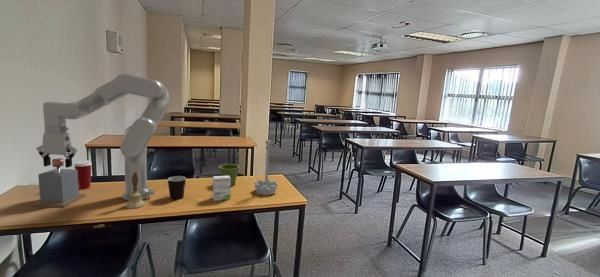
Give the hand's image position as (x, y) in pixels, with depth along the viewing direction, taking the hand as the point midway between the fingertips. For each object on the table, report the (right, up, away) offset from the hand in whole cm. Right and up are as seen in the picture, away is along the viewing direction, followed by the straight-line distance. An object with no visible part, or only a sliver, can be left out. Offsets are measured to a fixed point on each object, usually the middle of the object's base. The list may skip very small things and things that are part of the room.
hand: (58, 166), depth 137 cm
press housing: (-1, -16, +3) cm, 17 cm away
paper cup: (-3, -14, +21) cm, 25 cm away
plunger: (-1, -15, +2) cm, 15 cm away
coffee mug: (+49, -17, +17) cm, 54 cm away
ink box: (+70, -19, +18) cm, 75 cm away
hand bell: (+34, -19, +3) cm, 39 cm away
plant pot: (+69, -15, +41) cm, 81 cm away
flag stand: (+92, -18, +33) cm, 99 cm away
